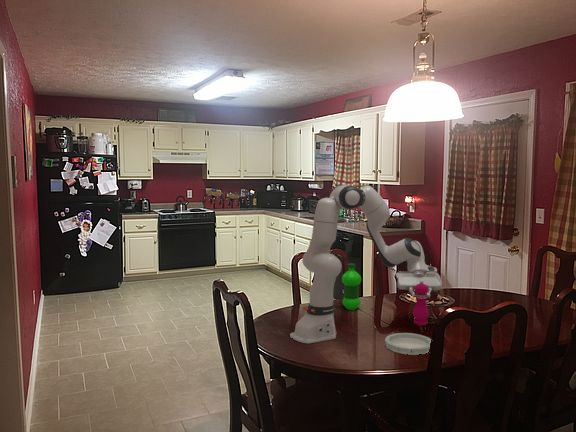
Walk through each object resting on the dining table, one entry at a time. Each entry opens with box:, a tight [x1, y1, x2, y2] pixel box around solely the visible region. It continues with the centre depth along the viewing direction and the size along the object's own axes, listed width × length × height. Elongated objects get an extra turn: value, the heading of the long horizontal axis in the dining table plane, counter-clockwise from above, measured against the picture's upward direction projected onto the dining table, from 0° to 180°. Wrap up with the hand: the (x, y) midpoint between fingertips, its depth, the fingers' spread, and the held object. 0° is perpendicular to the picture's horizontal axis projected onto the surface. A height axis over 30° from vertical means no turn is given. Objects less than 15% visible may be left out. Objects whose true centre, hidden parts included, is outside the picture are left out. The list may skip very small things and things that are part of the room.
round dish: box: [384, 332, 432, 356], centre depth 211 cm, size 20×20×2 cm
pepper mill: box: [412, 280, 430, 326], centre depth 224 cm, size 7×7×20 cm
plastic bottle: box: [341, 263, 362, 311], centre depth 268 cm, size 10×10×25 cm
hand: (421, 296), depth 224 cm, fingers closed on pepper mill, 5 cm apart
